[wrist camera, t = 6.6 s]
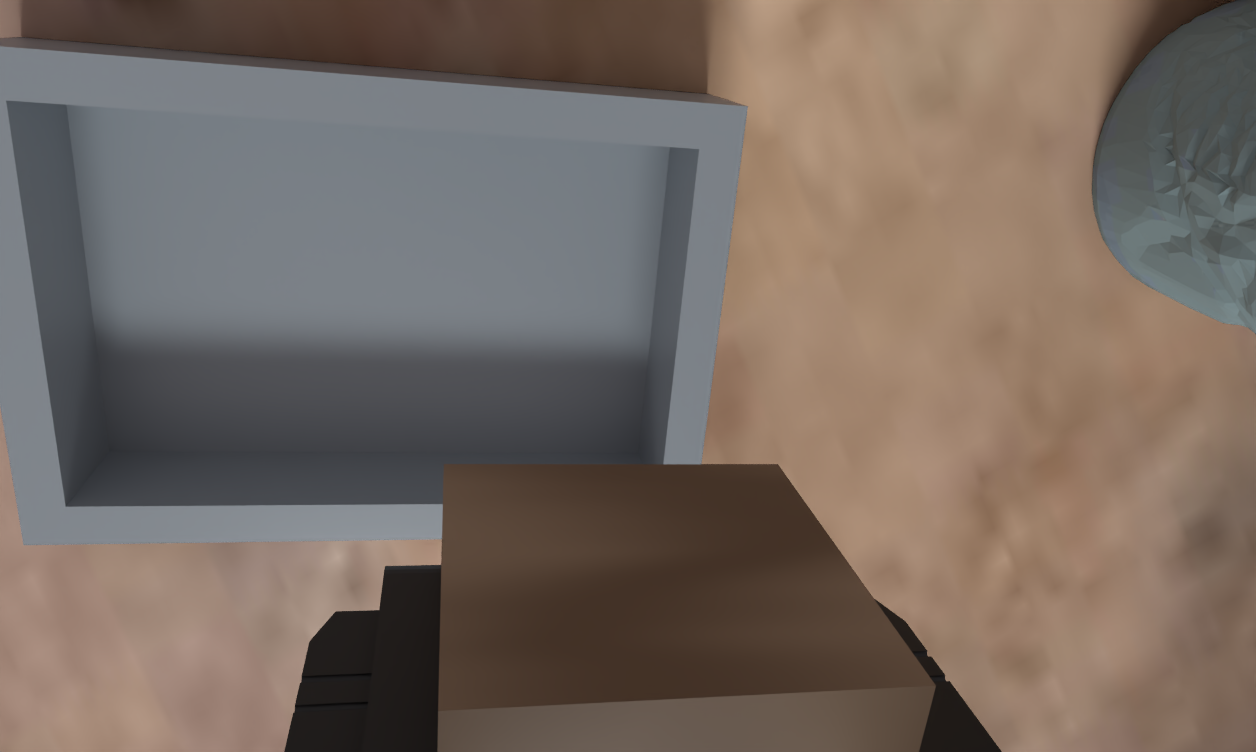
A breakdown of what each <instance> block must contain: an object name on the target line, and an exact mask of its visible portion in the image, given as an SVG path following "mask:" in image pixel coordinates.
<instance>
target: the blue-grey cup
mask: <svg viewBox="0 0 1256 752" xmlns="http://www.w3.org/2000/svg"><path fill="white" fill-rule="evenodd" d="M1092 196H1093V205H1094V212H1095V216H1096V219H1097V223H1098V226H1099V230H1100V232H1101V235H1102V238H1103V240H1104V242H1105V243H1106V245H1107V246H1108V248H1109V249H1110V251H1111V252H1112V254H1113V255H1114V257H1115V258H1116V259H1117V260H1118V261H1119V263H1120V264H1121V265H1122V266H1123V267H1124V268H1125V269H1126V270H1127V271H1128V272H1129V273H1130V274H1131V275H1132V276H1133V277H1134V278H1136V279H1138V280H1139V281H1141V282H1142V283H1144V284H1145V285H1147V286H1148V287H1150V288H1152V289H1154V290H1156V291H1158V292H1160V293H1162V294H1164V295H1166V296H1168V297H1170V298H1172V299H1174V300H1176V301H1177V302H1179V303H1181V304H1183V305H1185V306H1187V307H1189V308H1191V309H1193V310H1195V311H1198V312H1200V313H1202V314H1204V315H1207V316H1209V317H1211V318H1213V319H1215V320H1218V321H1220V322H1222V323H1227V324H1234V325H1242V326H1245V327H1248V328H1249V329H1250V330H1252V331H1253V332H1254V333H1255V334H1256V0H1237V1H1234V2H1231V3H1228V4H1224V5H1222V6H1220V7H1217V8H1215V9H1213V10H1211V11H1209V12H1207V13H1205V14H1203V15H1200V16H1197V17H1195V18H1194V19H1193V20H1192V21H1191V22H1190V23H1187V24H1184V25H1182V26H1180V27H1179V28H1178V29H1177V30H1175V31H1174V32H1172V33H1171V34H1169V35H1167V36H1166V37H1165V38H1164V39H1163V40H1162V41H1161V42H1160V43H1159V44H1158V45H1156V46H1155V47H1154V48H1153V49H1152V50H1151V51H1150V52H1149V53H1148V54H1147V55H1146V57H1145V58H1144V59H1143V60H1142V61H1141V63H1140V64H1139V65H1138V66H1137V67H1136V69H1135V70H1134V71H1133V73H1132V74H1131V76H1130V77H1129V79H1128V80H1127V82H1126V83H1125V84H1124V86H1123V88H1122V89H1121V91H1120V93H1119V94H1118V96H1117V98H1116V99H1115V101H1114V102H1113V105H1112V107H1111V109H1110V111H1109V113H1108V115H1107V118H1106V120H1105V122H1104V125H1103V128H1102V131H1101V134H1100V138H1099V141H1098V145H1097V148H1096V153H1095V159H1094V165H1093V181H1092Z"/></svg>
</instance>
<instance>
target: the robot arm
mask: <svg viewBox="0 0 1256 752" xmlns="http://www.w3.org/2000/svg"><path fill="white" fill-rule="evenodd" d="M874 600H875V599H874ZM875 601H876V602H877V604H878V605H879V607H880V608H881V609H882V611H883V612H884V614H885V615H886V616H887V618H888V619H889V621H890V622H891V623H892V625H893V626H894V628H895V629H896V630H897V632H898V633H899V635H900V636H901V637H902V639H903V640H904V642H905V643H906V644H907V646H908V647H909V649H910V650H911V651H912V653H913V654H914V656H915V657H916V658H917V660H918V661H919V663H920V664H921V665H922V667H923V668H924V670H925V671H926V672H927V674H928V675H929V677H930V678H931V679H932V681H933V682H934V684H935V685H936V688H935V692H934V696H933V699H932V703H931V707H930V711H929V715H928V719H927V723H926V727H925V730H924V734H923V738H922V742H921V746H920V750H919V752H1001V750H1000V749H999V747H998V746H997V745H996V743H995V742H994V741H993V739H992V738H991V737H990V735H989V734H988V733H987V731H986V730H985V728H984V727H983V726H982V724H981V723H980V722H979V720H978V719H977V718H976V716H975V715H974V714H973V712H972V711H971V710H970V708H969V707H968V705H967V704H966V703H965V701H964V700H963V699H962V697H961V696H960V695H959V693H958V692H957V691H956V689H955V688H954V687H953V685H952V684H951V682H950V681H946V680H945V674H944V673H943V672H942V670H941V669H940V668H939V666H938V665H937V664H936V662H935V661H934V659H933V658H932V657H928V656H927V650H926V649H925V647H924V646H923V645H922V643H921V642H920V641H919V639H918V638H917V636H916V635H915V634H914V632H913V631H912V630H911V628H910V627H909V626H908V624H907V623H906V622H905V621H904V620H903V619H901V618H900V617H899V616H897V615H896V614H894V613H893V612H892V611H890V610H889V609H888V608H886V607H885V606H884V605H882V604H881V603H879V602H878V601H877V600H875ZM440 607H441V565H421V566H385V570H384V578H383V586H382V594H381V602H380V610H374V611H340V612H335V613H334V614H333V615H332V616H331V618H330V619H329V620H328V621H327V622H326V623H325V624H324V626H323V627H322V628H321V629H320V630H319V631H318V632H317V634H316V635H315V636H314V637H313V638H312V639H311V641H310V642H309V646H308V651H307V655H306V660H305V664H304V668H303V673H302V682H301V683H300V686H299V690H298V695H297V699H296V703H295V713H293V717H292V721H291V725H290V730H289V734H288V738H287V743H286V747H285V752H437V748H438V698H439V652H440Z"/></svg>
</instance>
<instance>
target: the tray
mask: <svg viewBox="0 0 1256 752" xmlns="http://www.w3.org/2000/svg"><path fill="white" fill-rule="evenodd" d="M747 108H748V106H745V105H742V104H738V103H735V102H732V101H729V100H726V99H723V98H720V97H716V96H713V95H710V94H704V93H692V92H680V91H668V90H656V89H643V88H631V87H619V86H607V85H595V84H583V83H571V82H559V81H546V80H534V79H522V78H510V77H498V76H486V75H474V74H462V73H449V72H437V71H425V70H413V69H401V68H389V67H377V66H365V65H352V64H340V63H328V62H316V61H304V60H292V59H280V58H268V57H255V56H243V55H231V54H219V53H207V52H195V51H183V50H171V49H158V48H146V47H134V46H122V45H110V44H98V43H86V42H74V41H61V40H49V39H37V38H25V37H13V38H0V407H1V413H2V419H3V425H4V431H5V437H6V443H7V448H8V454H9V460H10V466H11V472H12V478H13V484H14V490H15V496H16V502H17V508H18V514H19V520H20V526H21V532H22V538H23V544H24V545H65V544H136V543H207V542H278V541H349V540H420V539H442V517H443V472H444V464H701V462H702V454H703V447H704V439H705V431H706V424H707V416H708V408H709V400H710V393H711V385H712V377H713V370H714V362H715V354H716V347H717V339H718V331H719V323H720V316H721V308H722V300H723V293H724V285H725V277H726V270H727V262H728V254H729V247H730V239H731V231H732V223H733V216H734V208H735V200H736V193H737V185H738V177H739V170H740V162H741V154H742V146H743V139H744V131H745V123H746V116H747Z"/></svg>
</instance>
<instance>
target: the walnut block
mask: <svg viewBox="0 0 1256 752" xmlns="http://www.w3.org/2000/svg"><path fill="white" fill-rule="evenodd" d="M935 688H936V685H935V684H934V682H933V681H932V679H931V678H930V677H929V675H928V674H927V672H926V671H925V670H924V668H923V667H922V665H921V664H920V663H919V661H918V660H917V658H916V657H915V656H914V654H913V653H912V651H911V650H910V649H909V647H908V646H907V644H906V643H905V642H904V640H903V639H902V637H901V636H900V635H899V633H898V632H897V630H896V629H895V628H894V626H893V625H892V623H891V622H890V621H889V619H888V618H887V616H886V615H885V614H884V612H883V611H882V609H881V608H880V607H879V605H878V604H877V602H876V601H875V600H874V598H873V597H872V595H871V594H870V593H869V591H868V590H867V588H866V587H865V586H864V584H863V583H862V581H861V580H860V579H859V577H858V576H857V574H856V573H855V572H854V570H853V569H852V567H851V566H850V565H849V563H848V562H847V560H846V559H845V558H844V556H843V555H842V553H841V552H840V551H839V549H838V548H837V546H836V545H835V544H834V542H833V541H832V539H831V538H830V537H829V535H828V534H827V532H826V531H825V530H824V528H823V527H822V525H821V524H820V523H819V521H818V520H817V518H816V517H815V516H814V514H813V513H812V511H811V510H810V509H809V507H808V506H807V504H806V503H805V502H804V500H803V499H802V497H801V496H800V495H799V493H798V492H797V491H796V489H795V488H794V486H793V485H792V484H791V482H790V481H789V479H788V478H787V477H786V475H785V474H784V472H783V471H782V470H781V468H780V467H779V465H778V464H444V472H443V517H442V562H441V607H440V652H439V698H438V748H437V752H919V750H920V746H921V742H922V738H923V734H924V730H925V727H926V723H927V719H928V715H929V711H930V707H931V703H932V699H933V696H934V692H935Z"/></svg>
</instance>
